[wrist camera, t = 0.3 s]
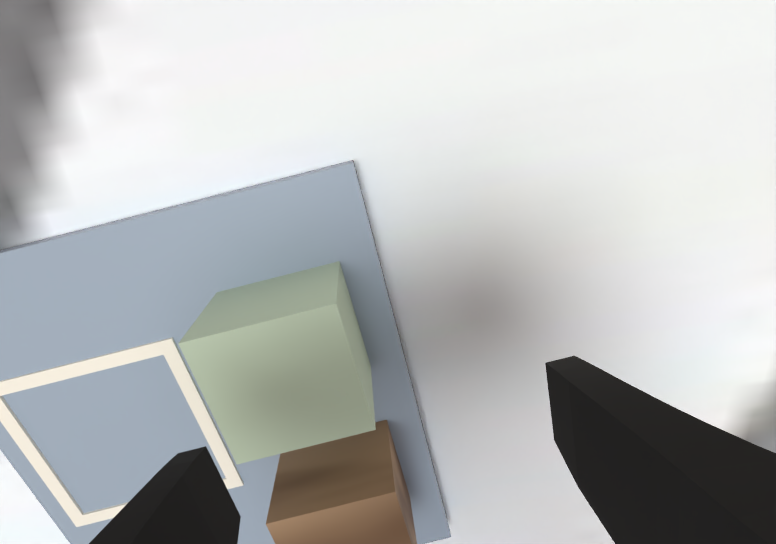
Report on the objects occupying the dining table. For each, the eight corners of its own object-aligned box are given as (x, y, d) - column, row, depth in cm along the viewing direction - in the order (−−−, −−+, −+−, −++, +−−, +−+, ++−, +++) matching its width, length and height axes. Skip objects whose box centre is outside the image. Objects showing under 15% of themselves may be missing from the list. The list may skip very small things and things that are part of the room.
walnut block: (409, 496, 21) (422, 578, 18) (313, 520, 21) (305, 607, 18) (386, 419, 20) (395, 491, 16) (281, 445, 20) (265, 524, 16)
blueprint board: (447, 520, 23) (451, 538, 22) (134, 597, 24) (124, 620, 23) (353, 160, 16) (353, 163, 15) (-95, 274, 16) (-126, 285, 15)
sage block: (370, 365, 18) (375, 429, 15) (259, 393, 18) (236, 464, 15) (339, 261, 17) (336, 303, 13) (216, 292, 17) (178, 343, 13)
